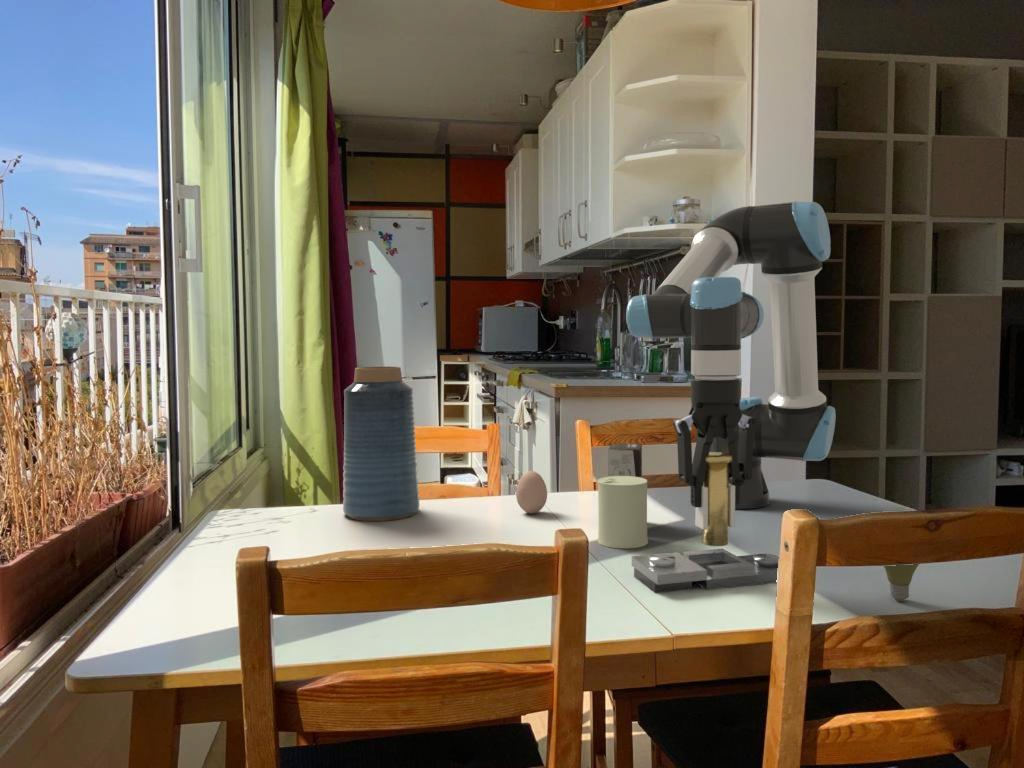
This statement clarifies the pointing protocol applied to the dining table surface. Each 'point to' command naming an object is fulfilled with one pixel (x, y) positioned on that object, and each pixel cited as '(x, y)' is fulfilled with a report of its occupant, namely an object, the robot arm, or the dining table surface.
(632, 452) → the coffee box
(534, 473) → the egg
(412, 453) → the vase
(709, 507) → the pin
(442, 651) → the dining table surface
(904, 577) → the light bulb
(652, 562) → the link plates
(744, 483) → the robot arm
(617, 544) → the can
